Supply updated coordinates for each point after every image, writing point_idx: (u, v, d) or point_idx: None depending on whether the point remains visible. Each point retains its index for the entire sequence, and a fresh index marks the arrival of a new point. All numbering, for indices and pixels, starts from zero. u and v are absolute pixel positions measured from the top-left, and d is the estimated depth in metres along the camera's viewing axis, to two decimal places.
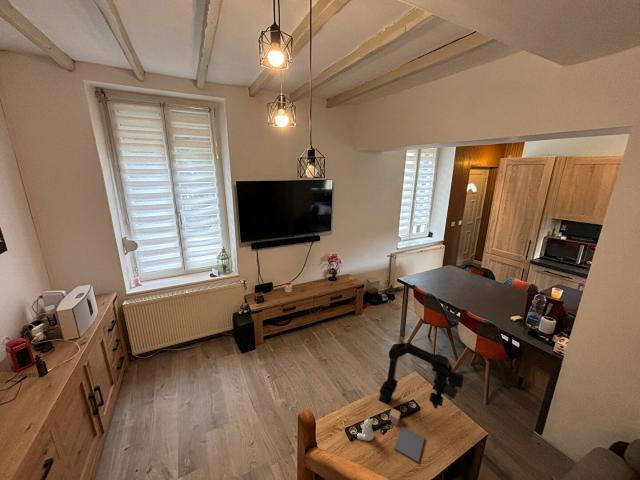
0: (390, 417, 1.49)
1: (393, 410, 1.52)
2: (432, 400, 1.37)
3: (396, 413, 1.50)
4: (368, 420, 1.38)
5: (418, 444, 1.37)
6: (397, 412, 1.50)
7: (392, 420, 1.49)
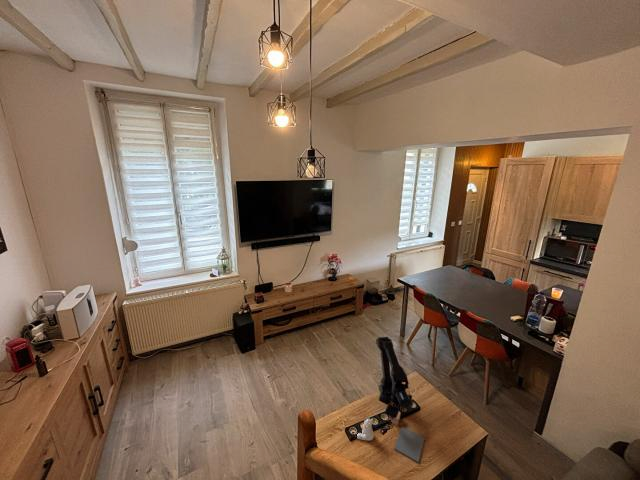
0: (390, 417, 1.49)
1: None
2: (387, 412, 1.41)
3: None
4: (368, 420, 1.38)
5: (418, 444, 1.37)
6: None
7: (392, 420, 1.49)
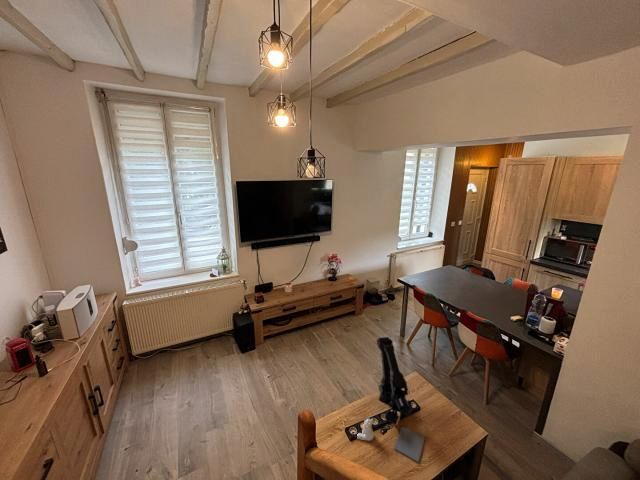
0: None
1: None
2: (387, 418, 1.42)
3: None
4: (368, 420, 1.38)
5: (418, 444, 1.37)
6: (397, 412, 1.50)
7: None
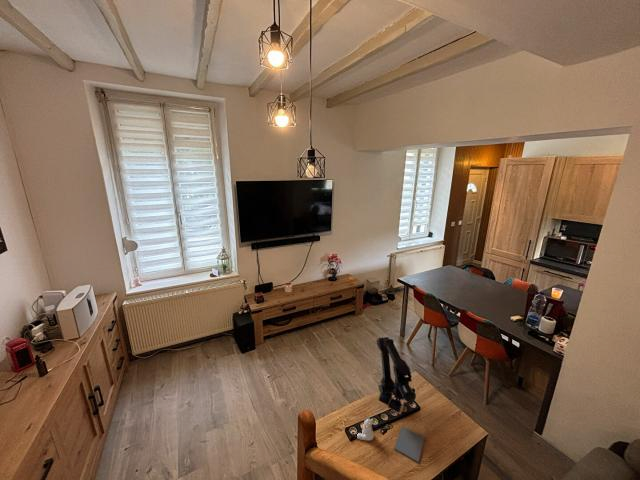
0: None
1: None
2: (390, 406, 1.37)
3: None
4: (368, 420, 1.38)
5: (418, 444, 1.37)
6: None
7: None
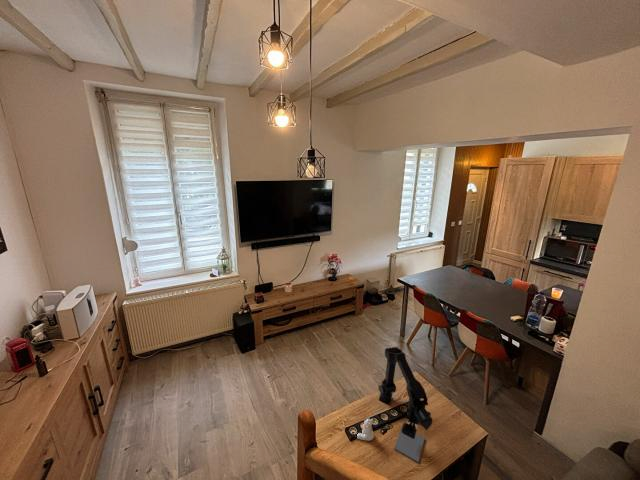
0: None
1: None
2: (404, 432, 1.27)
3: None
4: (368, 420, 1.38)
5: (418, 444, 1.37)
6: None
7: None
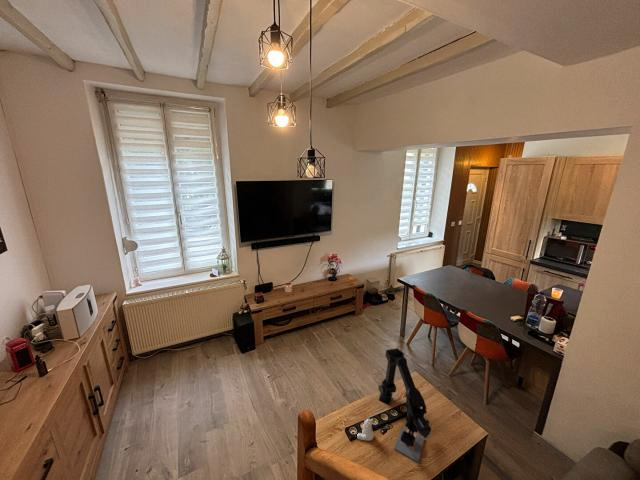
0: None
1: (408, 431, 1.38)
2: (403, 440, 1.28)
3: None
4: (368, 420, 1.38)
5: (418, 444, 1.37)
6: None
7: None
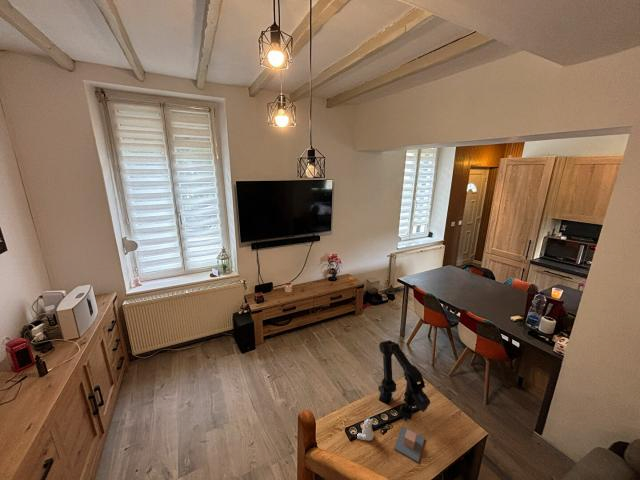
0: (405, 440, 1.36)
1: (408, 431, 1.38)
2: (401, 413, 1.33)
3: (411, 435, 1.36)
4: (368, 420, 1.38)
5: (418, 444, 1.37)
6: (413, 434, 1.37)
7: (408, 443, 1.36)
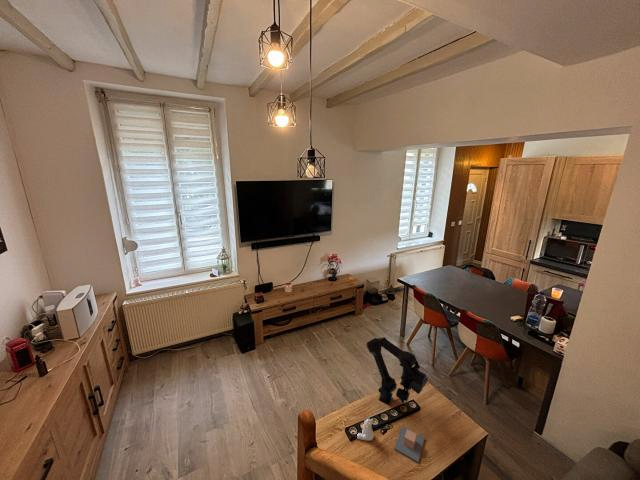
0: (405, 440, 1.36)
1: (408, 431, 1.38)
2: (398, 395, 1.43)
3: (411, 435, 1.36)
4: (368, 420, 1.38)
5: (418, 444, 1.37)
6: (413, 434, 1.37)
7: (408, 443, 1.36)
